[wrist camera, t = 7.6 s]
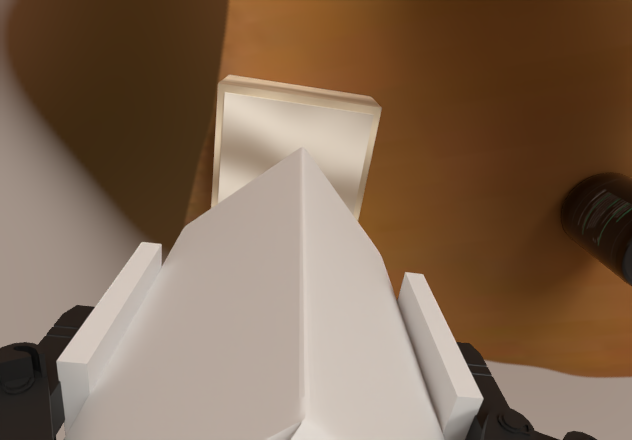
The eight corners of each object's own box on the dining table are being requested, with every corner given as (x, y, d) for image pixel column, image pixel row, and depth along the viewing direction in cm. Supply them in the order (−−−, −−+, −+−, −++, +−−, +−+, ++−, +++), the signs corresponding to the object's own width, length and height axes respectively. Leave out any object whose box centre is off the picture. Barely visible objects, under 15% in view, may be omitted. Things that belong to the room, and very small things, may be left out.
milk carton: (271, 320, 24) (193, 1119, 6) (184, 224, 21) (-331, 1123, 4) (382, 255, 22) (667, 1065, 5) (303, 143, 20) (323, 1019, 2)
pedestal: (229, 74, 33) (217, 83, 28) (370, 96, 34) (382, 108, 29) (220, 206, 37) (209, 234, 33) (345, 222, 38) (352, 251, 34)
